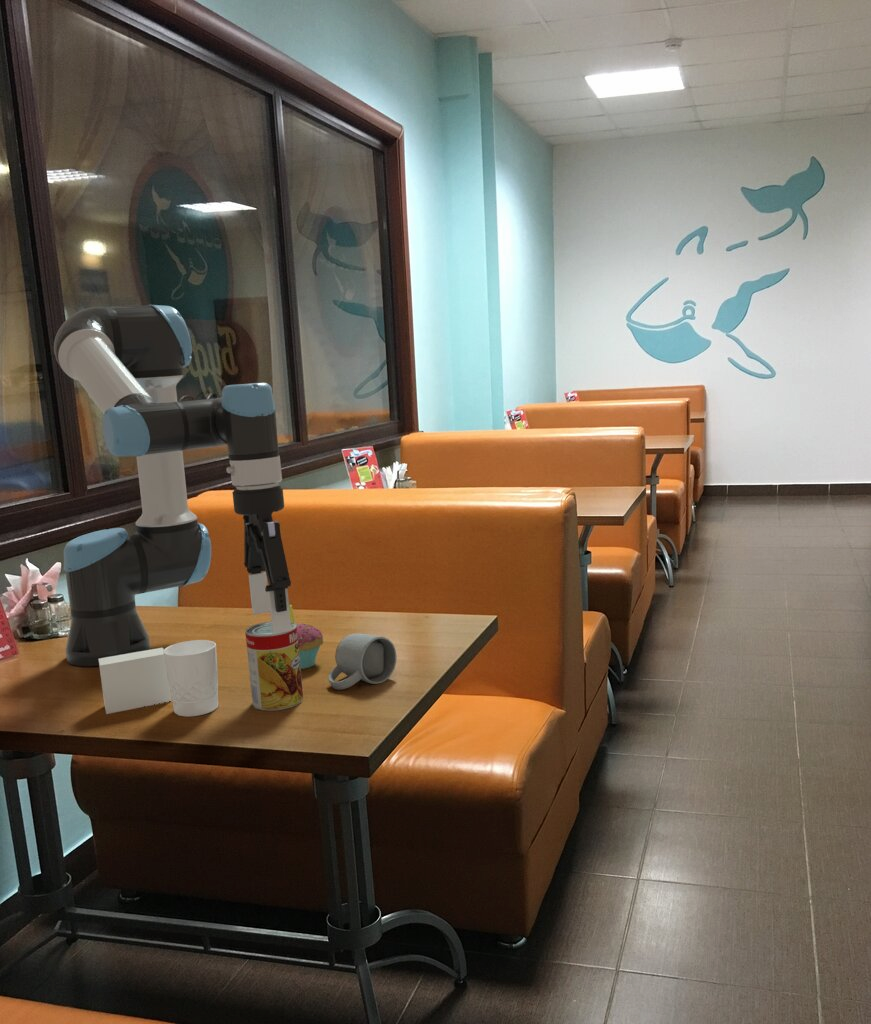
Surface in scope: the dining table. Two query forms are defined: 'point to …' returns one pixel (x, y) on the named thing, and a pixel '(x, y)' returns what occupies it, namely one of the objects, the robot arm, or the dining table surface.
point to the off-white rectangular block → (134, 680)
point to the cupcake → (307, 642)
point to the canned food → (274, 667)
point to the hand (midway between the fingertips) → (271, 622)
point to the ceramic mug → (363, 660)
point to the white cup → (192, 677)
